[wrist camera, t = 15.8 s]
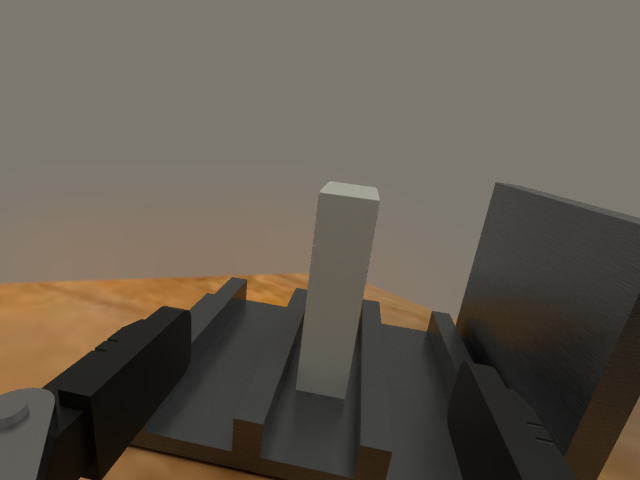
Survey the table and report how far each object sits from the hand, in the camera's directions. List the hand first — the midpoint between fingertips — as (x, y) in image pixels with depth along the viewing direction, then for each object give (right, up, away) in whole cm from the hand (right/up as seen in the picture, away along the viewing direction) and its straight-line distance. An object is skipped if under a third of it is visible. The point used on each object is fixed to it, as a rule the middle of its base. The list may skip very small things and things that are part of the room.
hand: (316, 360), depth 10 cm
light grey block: (0, -5, +12) cm, 13 cm away
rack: (0, -6, +12) cm, 14 cm away
